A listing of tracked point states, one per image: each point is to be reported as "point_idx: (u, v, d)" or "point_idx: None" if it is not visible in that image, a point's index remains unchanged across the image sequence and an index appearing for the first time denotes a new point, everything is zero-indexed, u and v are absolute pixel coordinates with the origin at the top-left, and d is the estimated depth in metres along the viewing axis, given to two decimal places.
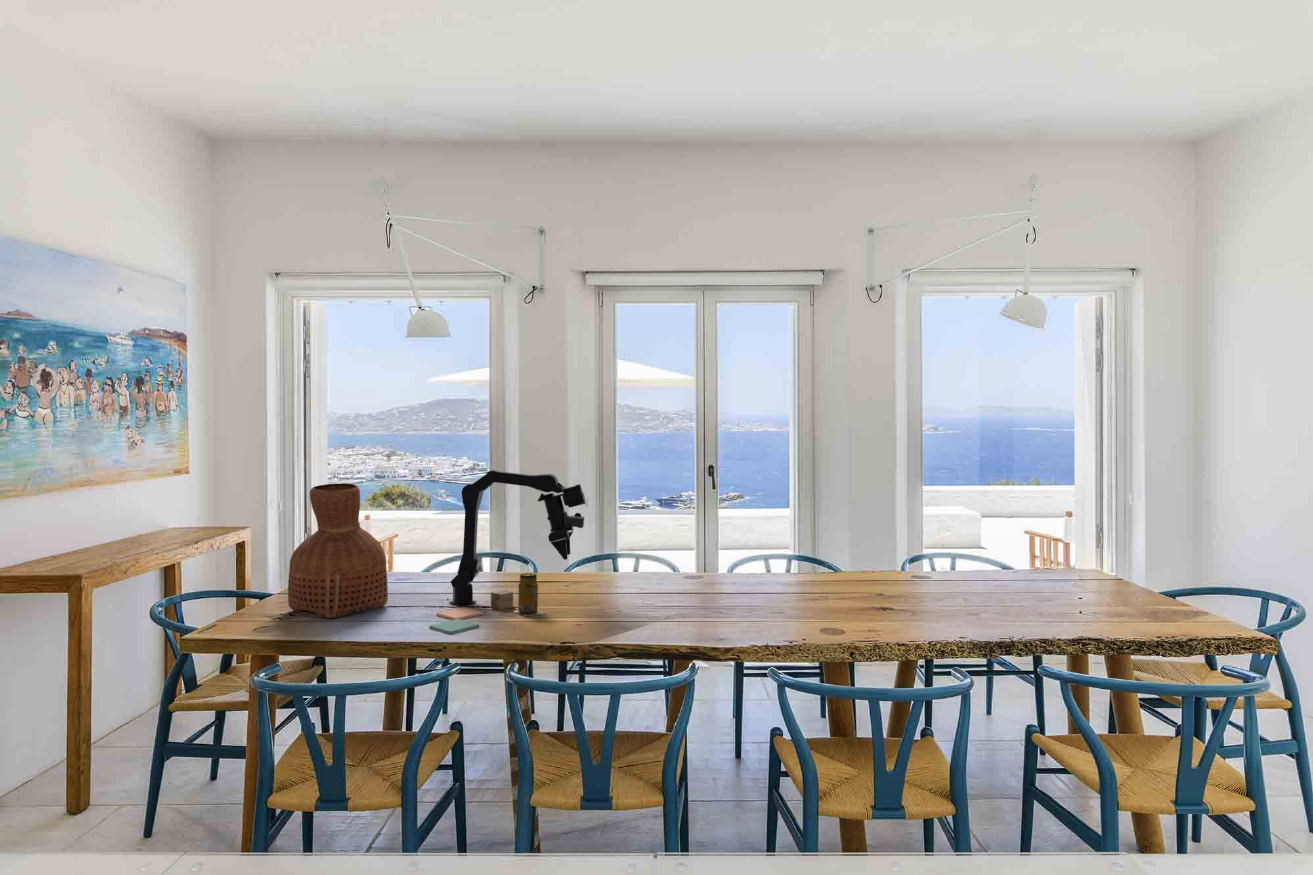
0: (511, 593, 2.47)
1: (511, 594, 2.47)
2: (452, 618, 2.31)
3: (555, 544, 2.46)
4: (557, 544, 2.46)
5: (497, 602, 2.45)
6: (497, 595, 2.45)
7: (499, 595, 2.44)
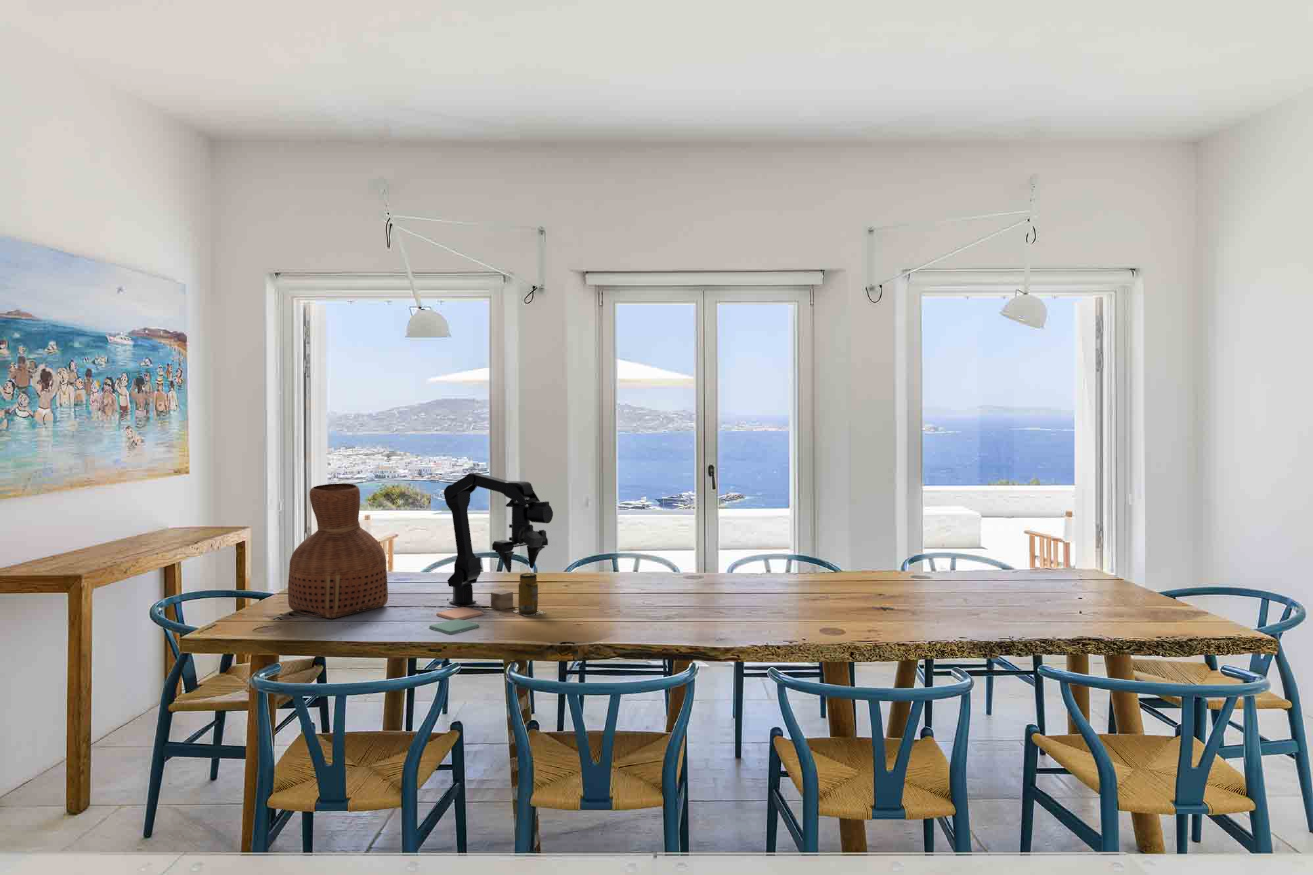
0: (511, 593, 2.47)
1: (511, 594, 2.47)
2: (452, 618, 2.31)
3: (500, 554, 2.39)
4: (502, 554, 2.39)
5: (497, 602, 2.45)
6: (497, 595, 2.45)
7: (499, 595, 2.44)
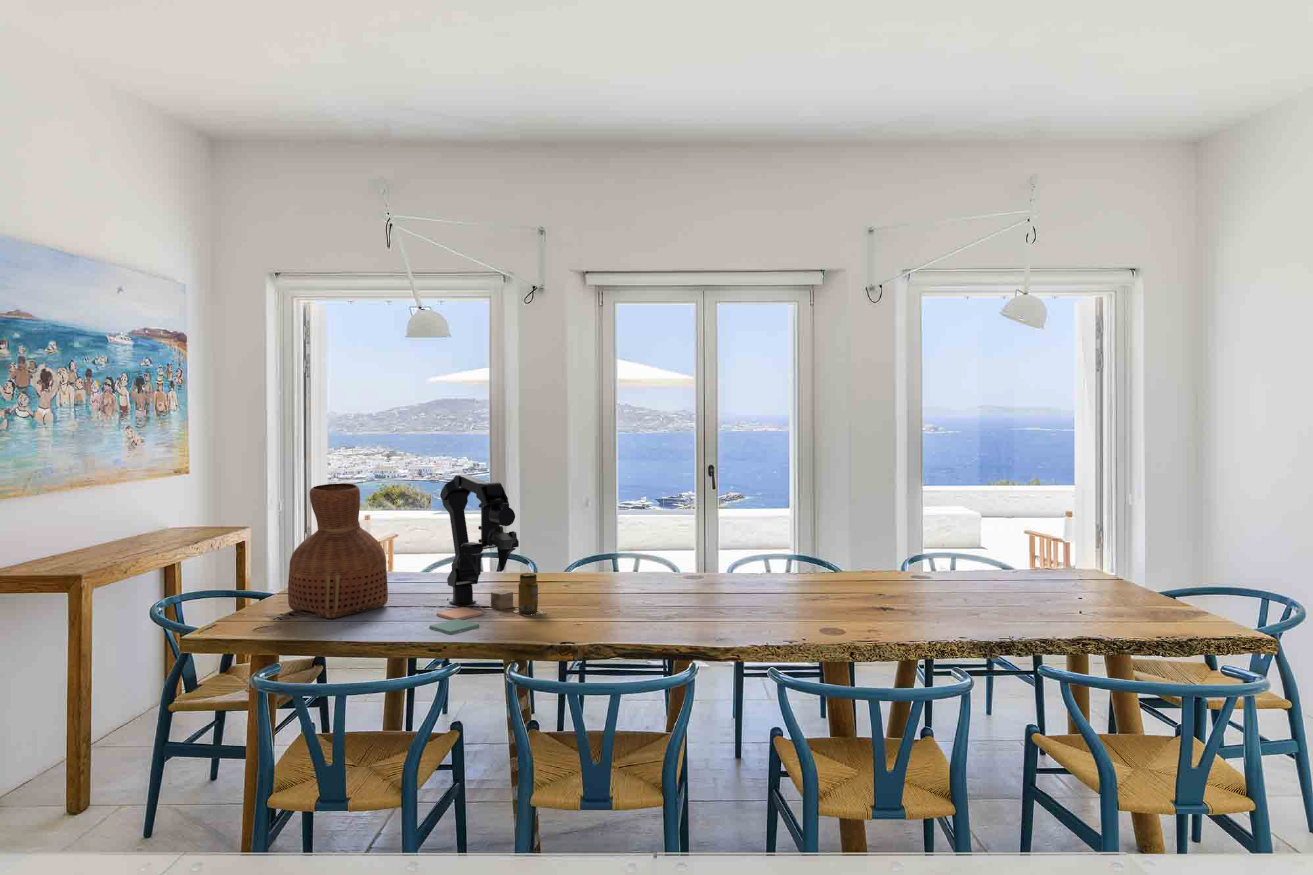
0: (511, 593, 2.47)
1: (511, 594, 2.47)
2: (452, 618, 2.31)
3: (470, 556, 2.33)
4: (472, 557, 2.33)
5: (497, 601, 2.45)
6: (497, 595, 2.45)
7: (499, 595, 2.44)
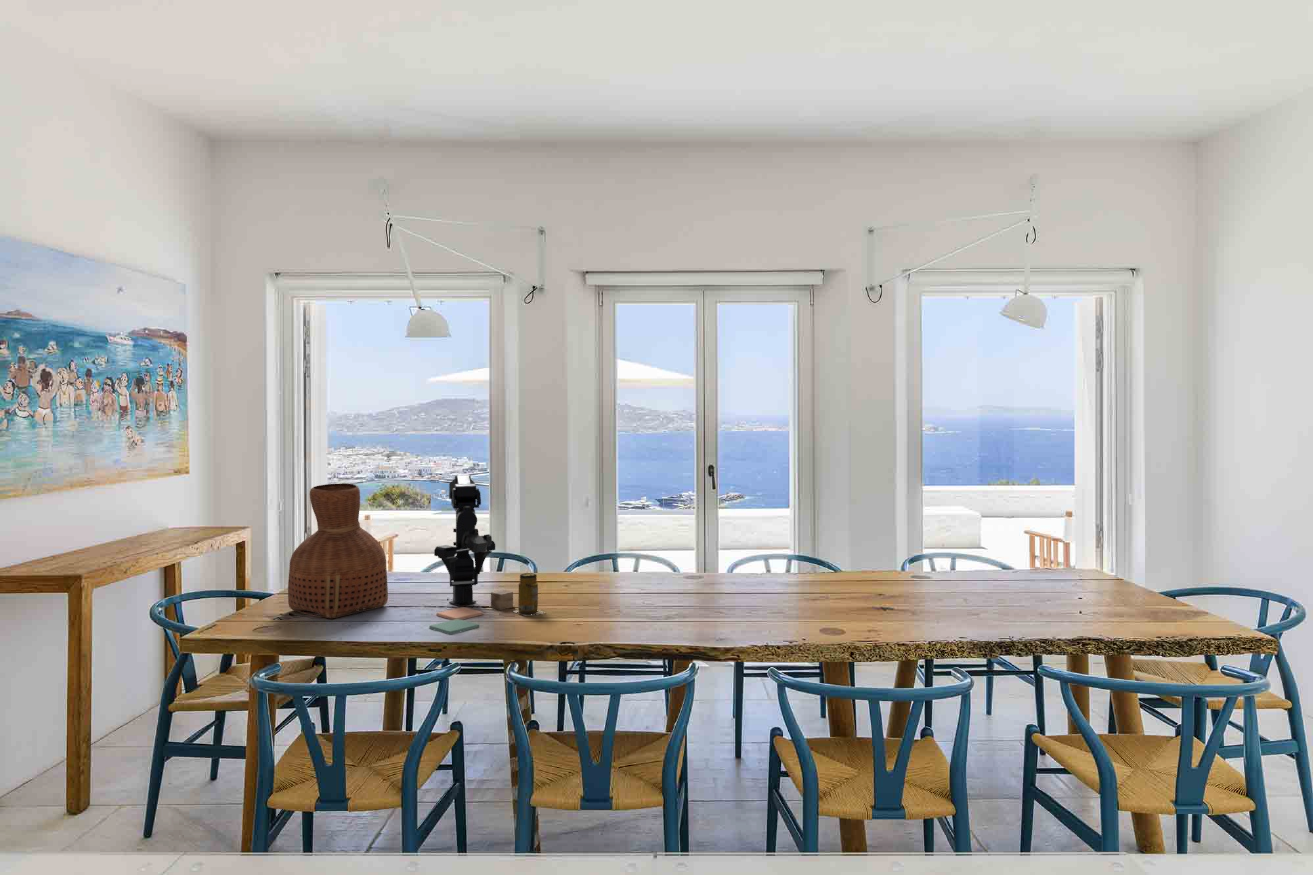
0: (511, 593, 2.47)
1: (511, 594, 2.47)
2: (452, 618, 2.31)
3: (443, 559, 2.29)
4: (446, 560, 2.29)
5: (497, 602, 2.45)
6: (497, 595, 2.45)
7: (499, 595, 2.44)
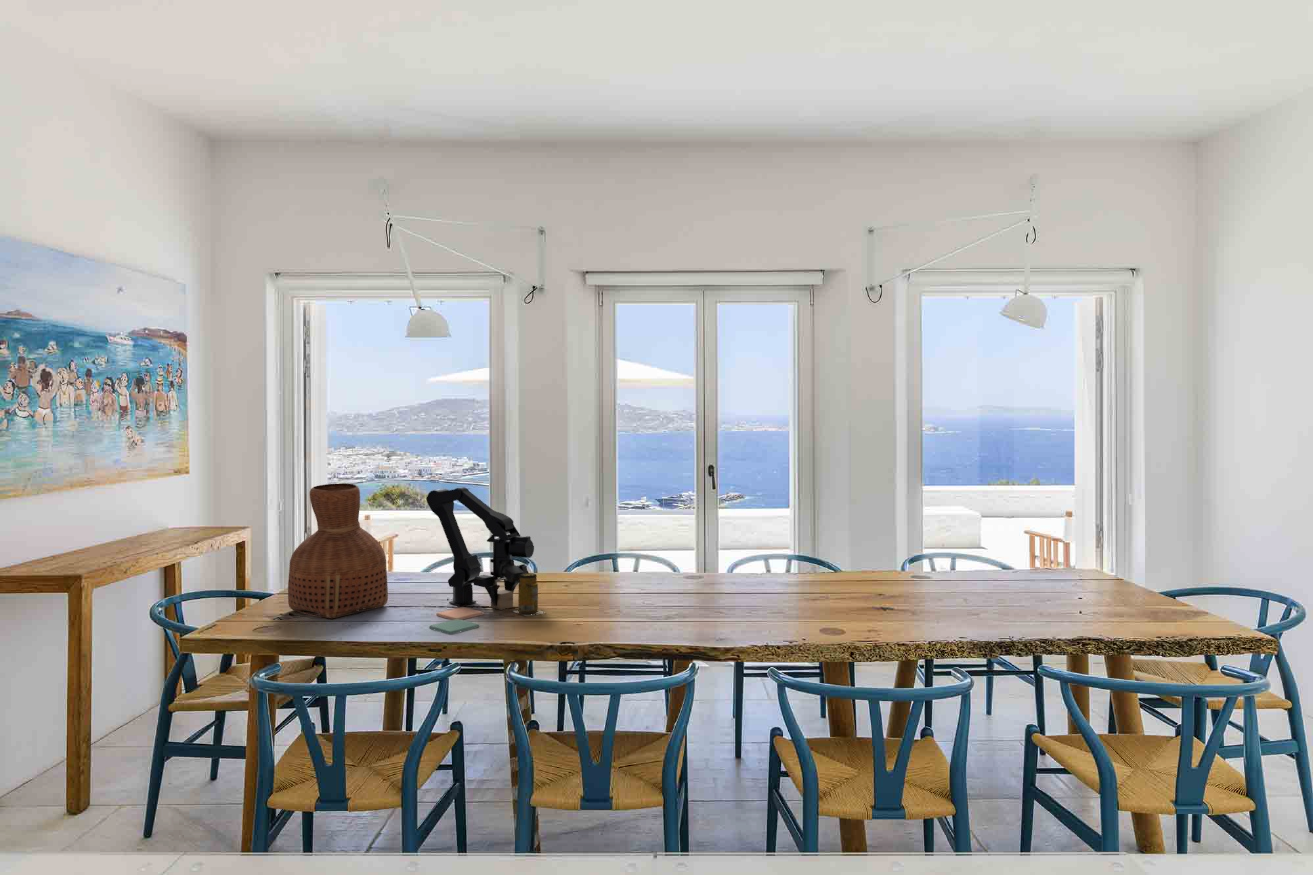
0: (511, 593, 2.47)
1: (511, 593, 2.47)
2: (452, 618, 2.31)
3: (487, 587, 2.45)
4: (489, 588, 2.45)
5: (497, 601, 2.45)
6: None
7: (499, 595, 2.44)
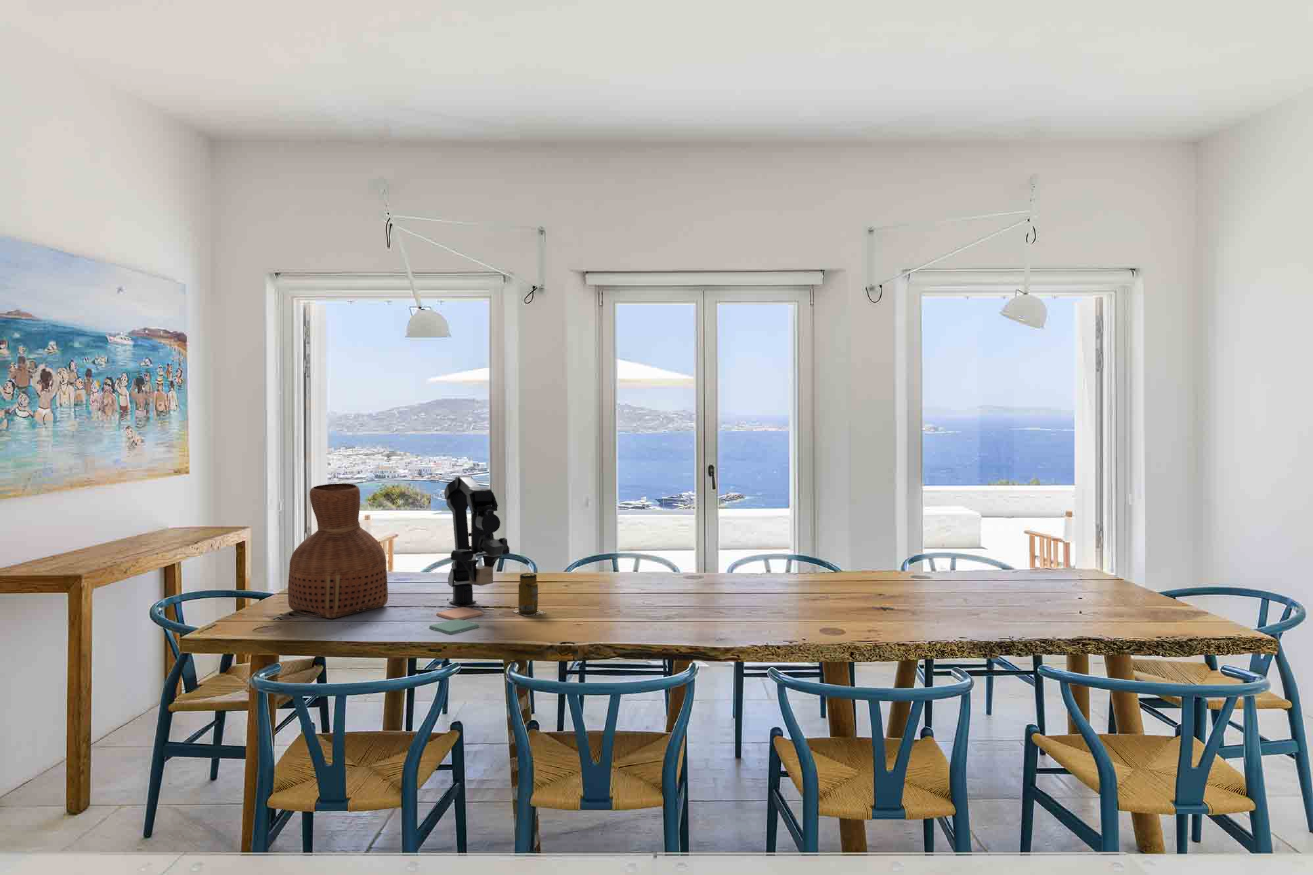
0: (491, 568, 2.34)
1: (490, 569, 2.34)
2: (452, 618, 2.31)
3: (465, 562, 2.32)
4: (467, 563, 2.32)
5: (476, 577, 2.32)
6: (476, 570, 2.32)
7: (478, 570, 2.31)
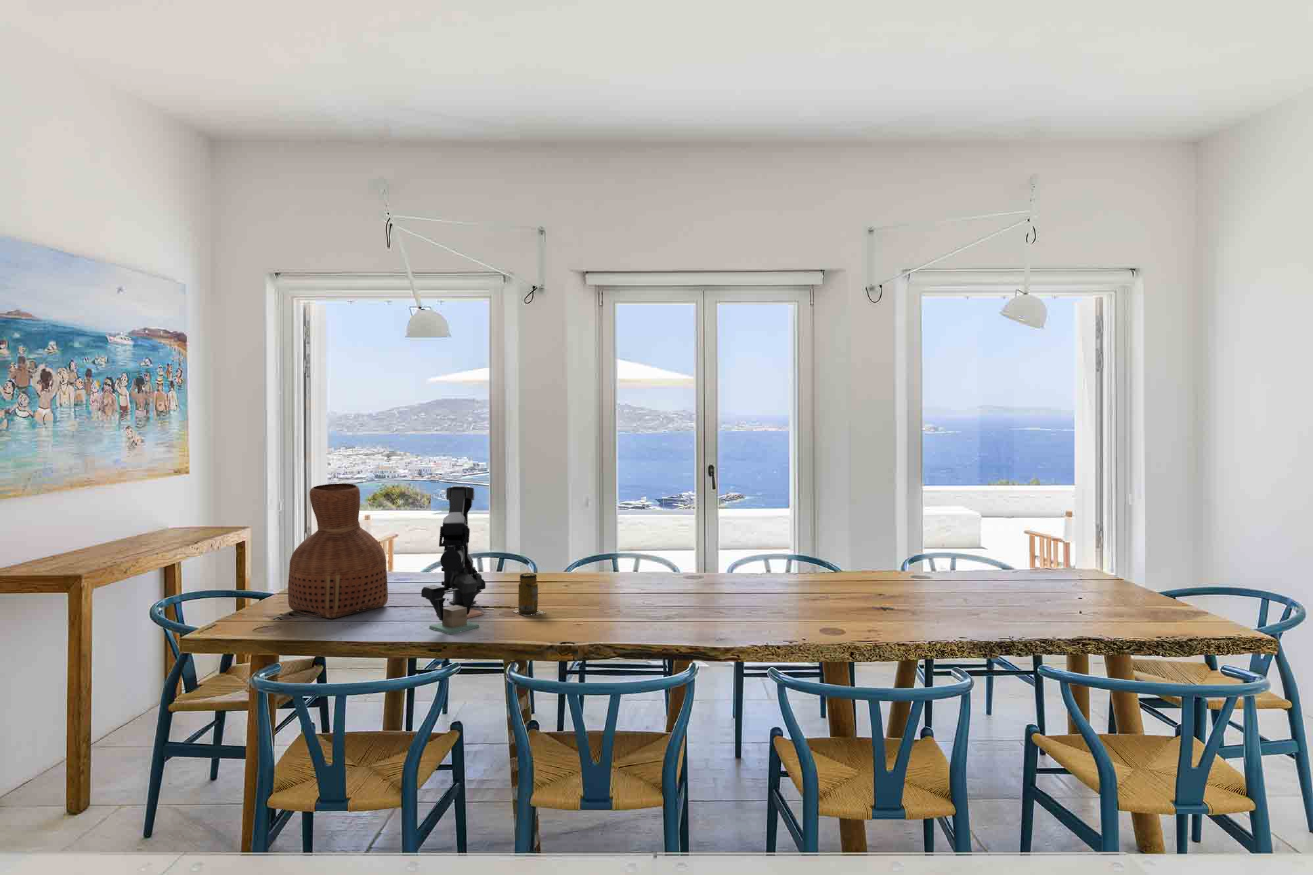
0: (465, 609, 2.22)
1: (464, 610, 2.22)
2: None
3: (431, 600, 2.18)
4: (434, 601, 2.18)
5: (449, 619, 2.19)
6: (448, 611, 2.19)
7: (450, 611, 2.19)
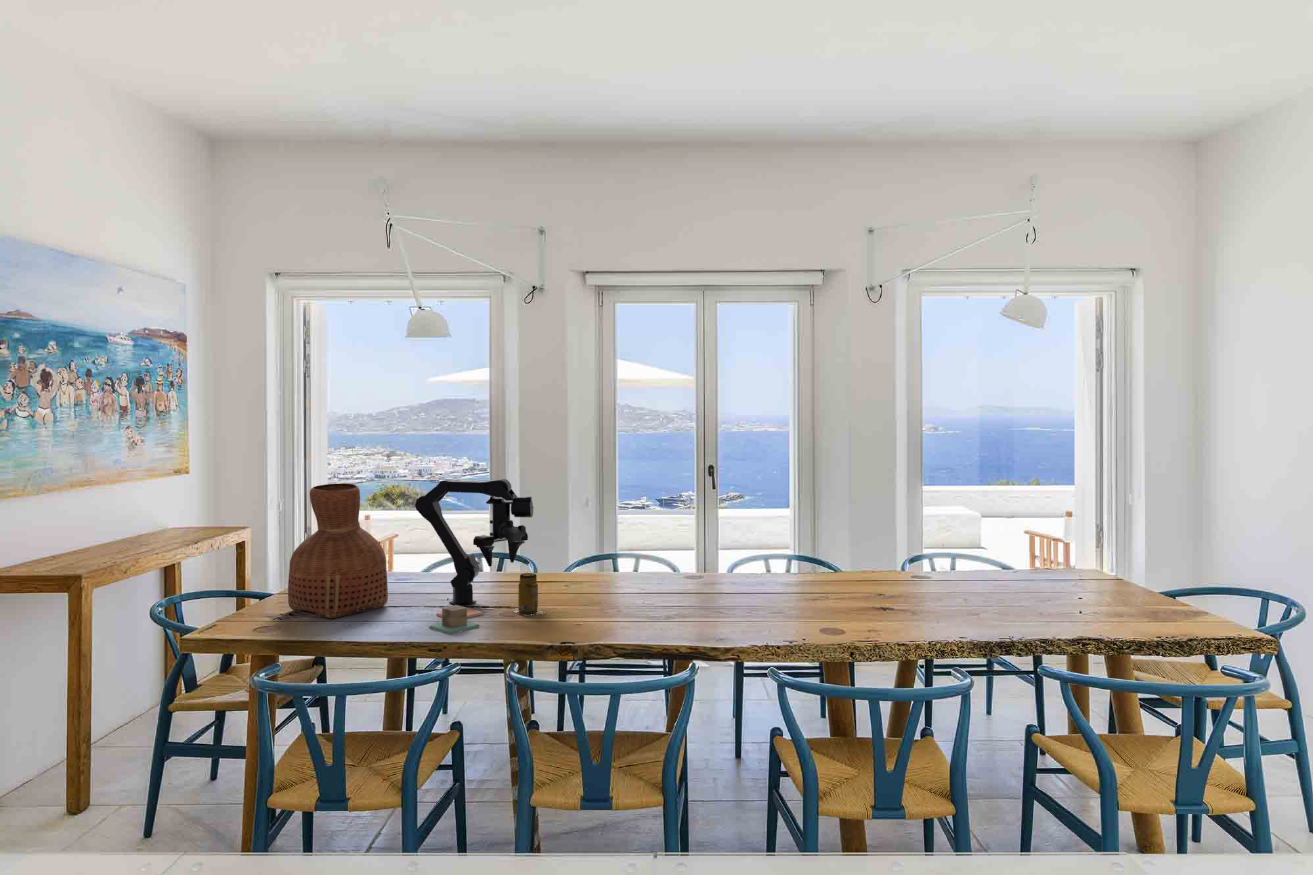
0: (465, 609, 2.22)
1: (464, 610, 2.22)
2: None
3: (481, 548, 2.48)
4: (483, 549, 2.48)
5: (449, 619, 2.19)
6: (448, 611, 2.19)
7: (450, 611, 2.19)
